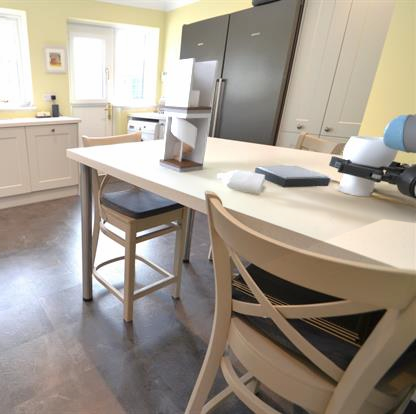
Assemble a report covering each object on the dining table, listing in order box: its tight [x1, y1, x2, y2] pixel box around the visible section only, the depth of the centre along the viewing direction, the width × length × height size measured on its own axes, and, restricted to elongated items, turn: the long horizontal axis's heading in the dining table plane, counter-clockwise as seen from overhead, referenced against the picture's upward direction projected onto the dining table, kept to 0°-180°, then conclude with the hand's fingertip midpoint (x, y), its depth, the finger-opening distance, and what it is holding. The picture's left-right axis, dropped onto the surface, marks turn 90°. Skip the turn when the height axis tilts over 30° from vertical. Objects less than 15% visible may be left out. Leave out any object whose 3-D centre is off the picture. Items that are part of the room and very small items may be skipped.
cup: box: [337, 135, 399, 197], centre depth 78 cm, size 11×11×15 cm
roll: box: [216, 169, 266, 196], centre depth 80 cm, size 6×12×6 cm, turn 55°
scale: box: [254, 165, 331, 188], centre depth 91 cm, size 16×14×3 cm
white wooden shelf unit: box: [158, 57, 220, 173], centre depth 98 cm, size 11×11×35 cm
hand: (354, 161), depth 81 cm, fingers open, 12 cm apart
